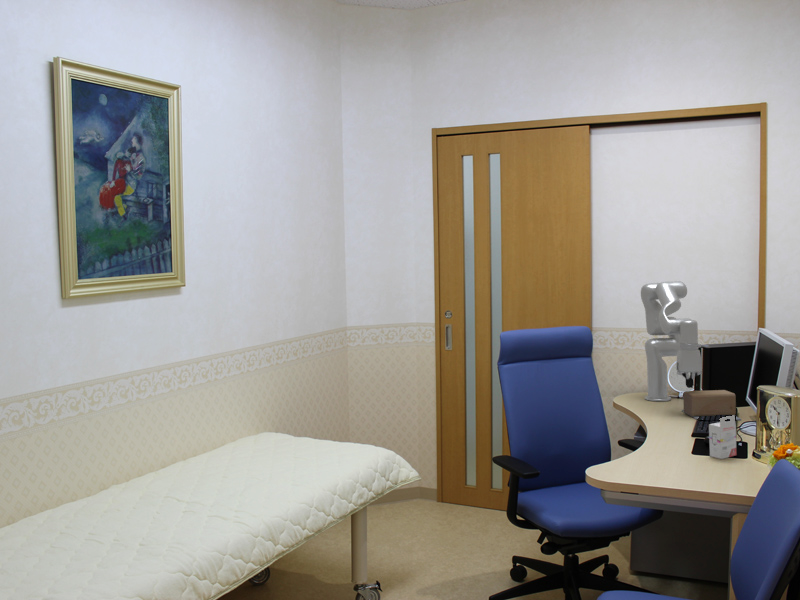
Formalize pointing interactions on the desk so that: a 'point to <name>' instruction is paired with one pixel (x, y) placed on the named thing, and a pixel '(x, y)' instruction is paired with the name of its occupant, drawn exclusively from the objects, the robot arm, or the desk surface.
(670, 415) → the desk surface
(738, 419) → the mat
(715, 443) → the ink cartridge box
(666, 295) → the robot arm
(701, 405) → the wooden block
